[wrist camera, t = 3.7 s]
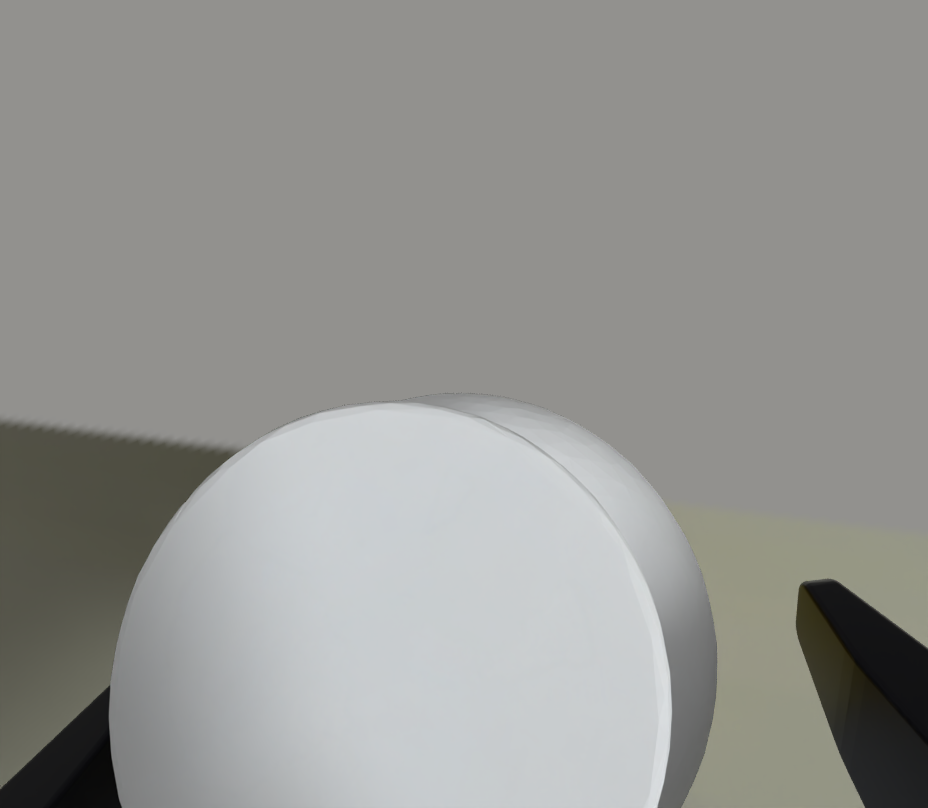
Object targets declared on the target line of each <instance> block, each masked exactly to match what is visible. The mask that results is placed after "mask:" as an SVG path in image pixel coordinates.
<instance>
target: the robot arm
mask: <svg viewBox="0 0 928 808" xmlns="http://www.w3.org/2000/svg"><path fill="white" fill-rule="evenodd" d="M796 630H797V635H798V639H799V642H800V645H801V648H802V651H803V654H804V656H805V659H806V662H807V665H808V668H809V670H810V673H811V676H812V679H813V682H814V684H815V687H816V690H817V693H818V695H819V698H820V701H821V704H822V707H823V709H824V712H825V715H826V718H827V721H828V723H829V726H830V729H831V732H832V734H833V737H834V740H835V742H836V745H837V748H838V750H839V753H840V755H841V758H842V760H843V762H844V764H845V766H846V769H847V771H848V773H849V775H850V777H851V779H852V781H853V783H854V785H855V788H856V790H857V792H858V794H859V796H860V798H861V800H862V802H863V804H864V806H865V808H928V648H927V647H925V646H924V645H923V644H921V643H920V642H919V641H917V640H916V639H915V638H913V637H912V636H911V635H909V634H908V633H907V632H905V631H904V630H903V629H901V628H900V627H898V626H897V625H896V624H894V623H893V622H892V621H890V620H889V619H888V618H886V617H885V616H884V615H882V614H881V613H880V612H878V611H877V610H876V609H874V608H873V607H872V606H870V605H869V604H868V603H866V602H865V601H864V600H862V599H861V598H859V597H858V596H857V595H855V594H854V593H853V592H851V591H850V590H849V589H847V588H846V587H845V586H843V585H842V584H841V583H839V582H838V581H835V580H833V579H822V580H813V581H805V582H803V583H802V584H801V585H800V587H799V592H798V604H797V615H796ZM109 703H110V686H109V687H108V688H106V689H105V690H104V691H103V692H102V693H101V694H100V695H99V696H98V697H97V698H96V699H95V700H94V701H93V702H92V703H91V704H90V705H89V706H87V707H86V708H85V709H84V710H83V711H82V712H81V713H80V714H79V715H78V716H77V717H76V718H75V719H74V720H73V721H72V722H71V723H70V724H68V725H67V726H66V727H65V728H64V729H63V730H62V731H61V732H60V733H59V734H58V735H57V736H56V737H55V738H54V739H53V740H52V741H51V742H50V743H48V744H47V745H46V746H45V747H44V748H43V749H42V750H41V751H40V752H39V753H38V754H37V755H36V756H35V757H34V758H33V759H32V760H31V761H29V762H28V763H27V764H26V765H25V766H24V767H23V768H22V769H21V770H20V771H19V772H18V773H17V774H16V775H15V776H14V777H13V778H12V779H10V780H9V781H8V782H7V783H6V784H5V785H4V786H3V787H2V788H1V789H0V808H122V806H121V803H120V801H119V796H118V790H117V785H116V779H115V774H114V768H113V762H112V757H111V743H110V728H109Z"/></svg>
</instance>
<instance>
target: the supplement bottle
mask: <svg viewBox="0 0 928 808" xmlns="http://www.w3.org/2000/svg"><path fill="white" fill-rule="evenodd" d="M716 685H717V642H716V636H715V629H714V622H713V616H712V612H711V607H710V602H709V598H708V594H707V590H706V587H705V583H704V580H703V576H702V573H701V570H700V568H699V565H698V563H697V560H696V558H695V555H694V553H693V551H692V549H691V547H690V545H689V543H688V541H687V539H686V536H685V535H684V533H683V531H682V530H681V528H680V526H679V525H678V523H677V521H676V520H675V518H674V517H673V515H672V514H671V512H670V511H669V509H668V508H667V506H666V505H665V503H664V502H663V500H662V499H661V497H660V496H659V495H658V493H657V492H656V491H655V490H654V488H653V487H652V486H651V485H650V484H649V483H648V481H647V480H646V479H645V478H644V477H643V476H642V475H641V474H640V472H639V471H638V470H637V469H636V468H635V467H634V465H633V464H632V463H630V462H629V461H628V460H627V459H626V458H624V457H623V456H622V455H621V454H620V453H618V452H617V451H616V450H615V449H614V448H613V447H611V446H610V445H609V444H608V443H607V442H605V441H604V440H602V439H601V438H599V437H598V436H596V435H594V434H593V433H592V432H590V431H589V430H587V429H585V428H584V427H582V426H580V425H578V424H577V423H575V422H573V421H572V420H569V419H567V418H565V417H563V416H561V415H559V414H556V413H554V412H551V411H550V410H548V409H545V408H543V407H539V406H536V405H533V404H530V403H526V402H522V401H518V400H514V399H511V398H507V397H500V396H493V395H485V394H473V393H456V394H454V393H445V394H435V395H426V396H421V397H415V398H410V399H406V400H401V401H383V402H369V403H360V404H351V405H344V406H340V407H336V408H332V409H328V410H324V411H320V412H317V413H314V414H310V415H307V416H304V417H301V418H298V419H296V420H294V421H292V422H290V423H287V424H285V425H283V426H281V427H279V428H276V429H274V430H273V431H271V432H269V433H267V434H265V435H264V436H262V437H260V438H258V439H257V440H255V441H254V442H252V443H251V444H250V445H248V446H247V447H245V448H244V449H242V450H241V451H239V452H238V453H236V454H235V455H233V456H232V457H231V458H229V459H228V460H227V461H226V462H225V463H223V464H222V465H221V466H220V467H219V468H217V469H216V470H215V471H214V472H213V473H211V474H210V475H209V476H208V477H207V478H206V479H205V480H204V481H203V482H202V483H201V484H200V485H199V486H198V487H197V488H196V489H195V491H194V492H193V493H192V495H191V496H190V497H189V498H188V500H187V501H186V502H185V503H184V504H183V505H182V506H181V507H180V508H179V510H178V511H177V512H176V514H175V515H174V516H173V517H172V519H171V520H170V521H169V523H168V525H167V526H166V528H165V529H164V531H163V532H162V534H161V535H160V537H159V538H158V540H157V542H156V543H155V545H154V547H153V549H152V550H151V552H150V554H149V556H148V558H147V560H146V562H145V564H144V566H143V567H142V569H141V571H140V573H139V575H138V577H137V580H136V582H135V585H134V588H133V590H132V593H131V596H130V598H129V601H128V604H127V608H126V611H125V615H124V618H123V621H122V625H121V628H120V633H119V637H118V641H117V646H116V650H115V657H114V663H113V669H112V675H111V684H110V703H109V728H110V743H111V757H112V762H113V768H114V774H115V779H116V785H117V790H118V796H119V801H120V803H121V806H122V808H681V806H682V805H683V803H684V801H685V799H686V797H687V795H688V792H689V790H690V788H691V786H692V784H693V782H694V780H695V777H696V774H697V772H698V769H699V767H700V764H701V761H702V759H703V756H704V754H705V749H706V745H707V741H708V737H709V732H710V728H711V724H712V720H713V714H714V706H715V699H716Z"/></svg>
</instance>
